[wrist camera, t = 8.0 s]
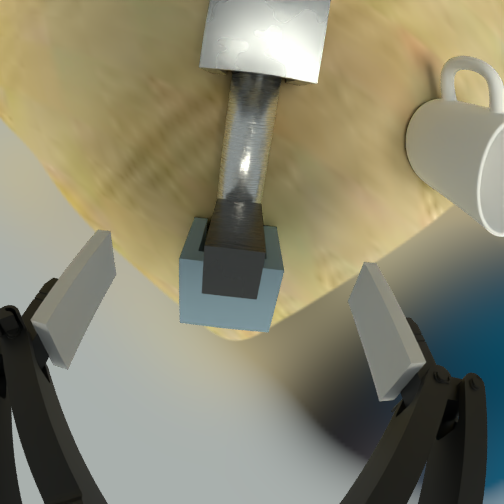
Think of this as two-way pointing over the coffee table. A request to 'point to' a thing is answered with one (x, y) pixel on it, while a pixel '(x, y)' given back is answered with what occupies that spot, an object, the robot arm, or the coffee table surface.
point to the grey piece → (241, 190)
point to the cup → (463, 146)
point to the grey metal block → (266, 38)
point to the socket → (222, 307)
